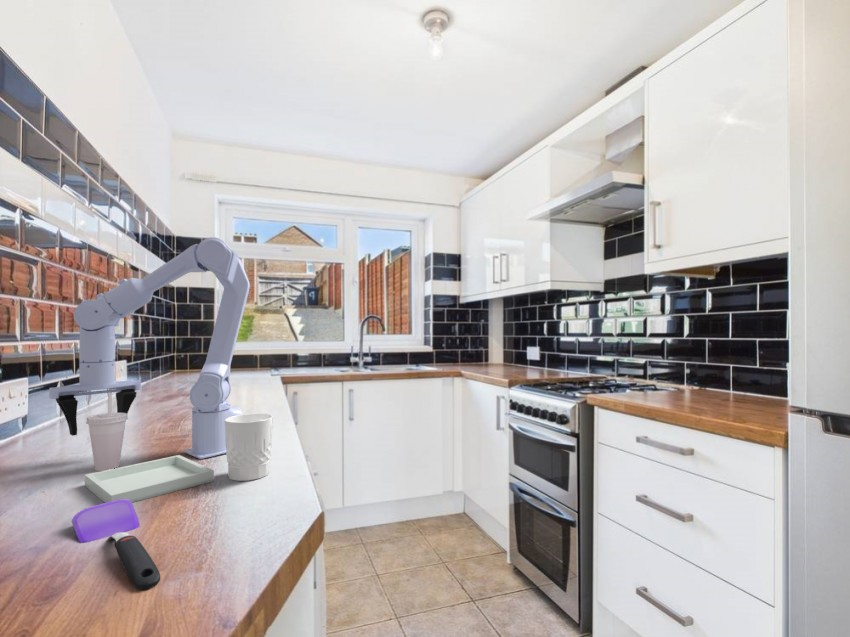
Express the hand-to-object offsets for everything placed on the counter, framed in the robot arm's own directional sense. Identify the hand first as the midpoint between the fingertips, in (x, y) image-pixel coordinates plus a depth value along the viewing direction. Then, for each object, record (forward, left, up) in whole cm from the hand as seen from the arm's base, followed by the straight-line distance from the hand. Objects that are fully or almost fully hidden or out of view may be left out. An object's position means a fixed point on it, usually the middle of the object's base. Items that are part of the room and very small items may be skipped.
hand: (97, 430), depth 88 cm
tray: (-2, +23, -6) cm, 23 cm away
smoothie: (0, +7, -6) cm, 9 cm away
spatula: (+8, +45, -6) cm, 46 cm away
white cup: (-15, +32, -6) cm, 35 cm away
